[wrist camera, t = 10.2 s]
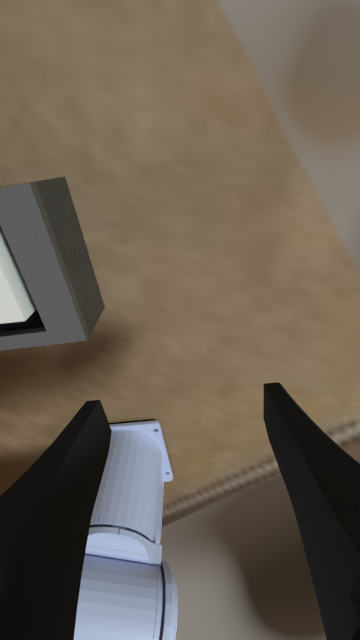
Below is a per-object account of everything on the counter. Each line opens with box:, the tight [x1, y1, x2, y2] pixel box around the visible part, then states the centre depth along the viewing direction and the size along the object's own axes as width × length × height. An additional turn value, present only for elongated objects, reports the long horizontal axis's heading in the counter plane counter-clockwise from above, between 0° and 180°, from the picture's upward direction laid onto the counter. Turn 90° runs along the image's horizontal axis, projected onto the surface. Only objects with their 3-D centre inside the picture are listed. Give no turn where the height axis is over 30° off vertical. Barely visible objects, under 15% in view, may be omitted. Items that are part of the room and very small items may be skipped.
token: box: [0, 226, 37, 324], centre depth 18 cm, size 5×2×5 cm, turn 7°
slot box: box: [0, 177, 104, 351], centre depth 18 cm, size 9×8×5 cm
